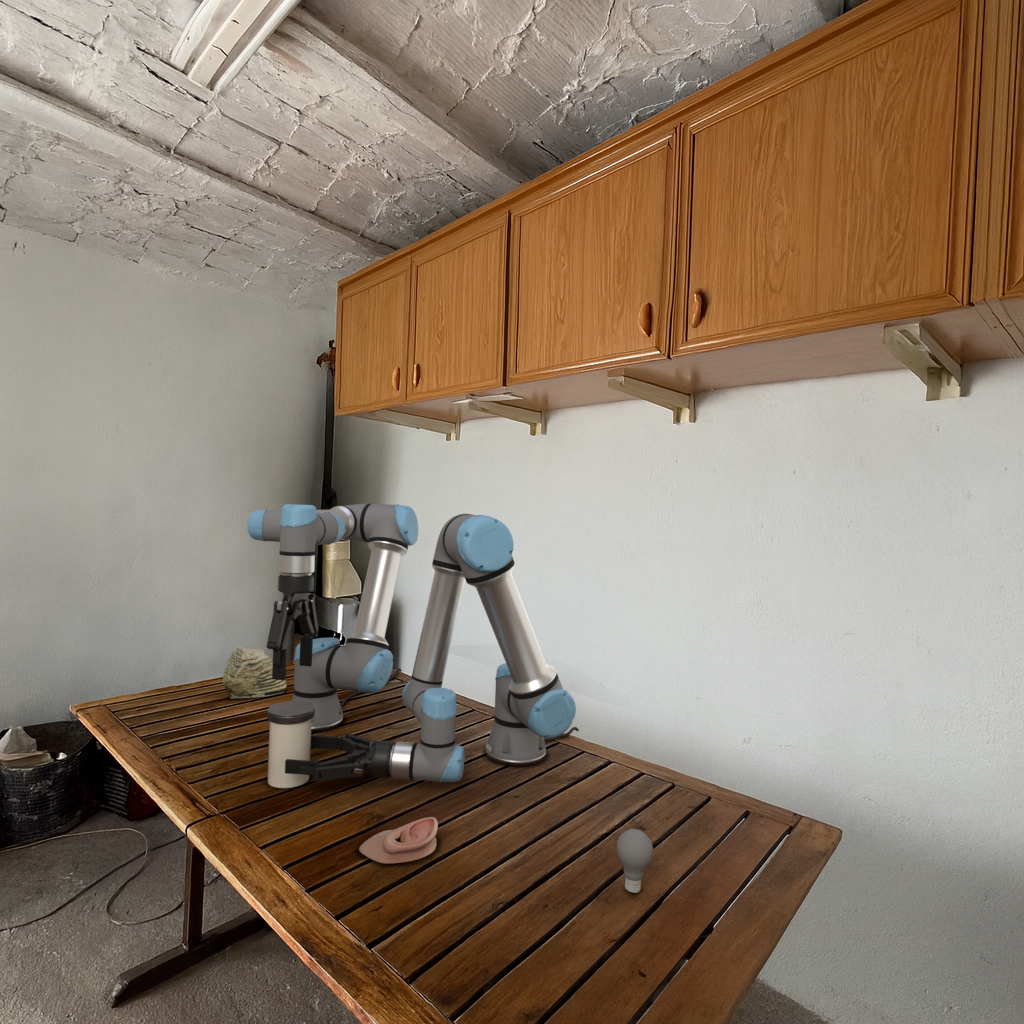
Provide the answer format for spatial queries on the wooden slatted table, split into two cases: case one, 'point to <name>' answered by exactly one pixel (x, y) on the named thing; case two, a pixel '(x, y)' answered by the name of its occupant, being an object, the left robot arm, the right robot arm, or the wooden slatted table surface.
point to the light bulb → (634, 857)
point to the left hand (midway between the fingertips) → (292, 672)
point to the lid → (290, 712)
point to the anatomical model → (403, 842)
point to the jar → (288, 752)
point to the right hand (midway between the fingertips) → (298, 753)
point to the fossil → (251, 674)
